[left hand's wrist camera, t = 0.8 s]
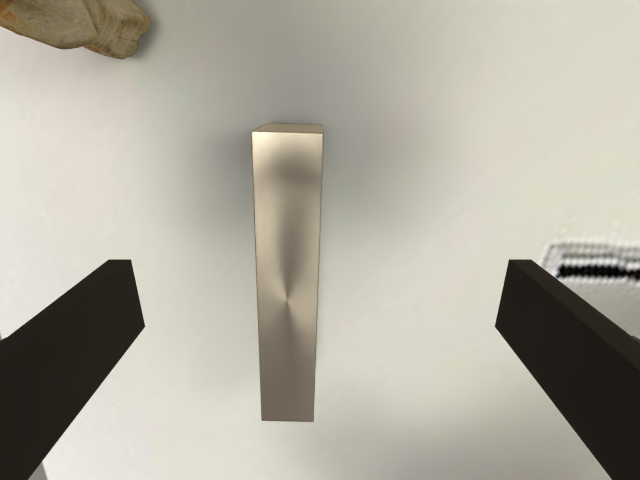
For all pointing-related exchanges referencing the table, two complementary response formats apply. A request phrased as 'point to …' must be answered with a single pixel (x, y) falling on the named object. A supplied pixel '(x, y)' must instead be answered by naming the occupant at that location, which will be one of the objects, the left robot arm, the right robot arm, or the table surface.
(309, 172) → the bar
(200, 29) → the table surface
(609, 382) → the left robot arm
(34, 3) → the sculpture
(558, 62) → the table surface
